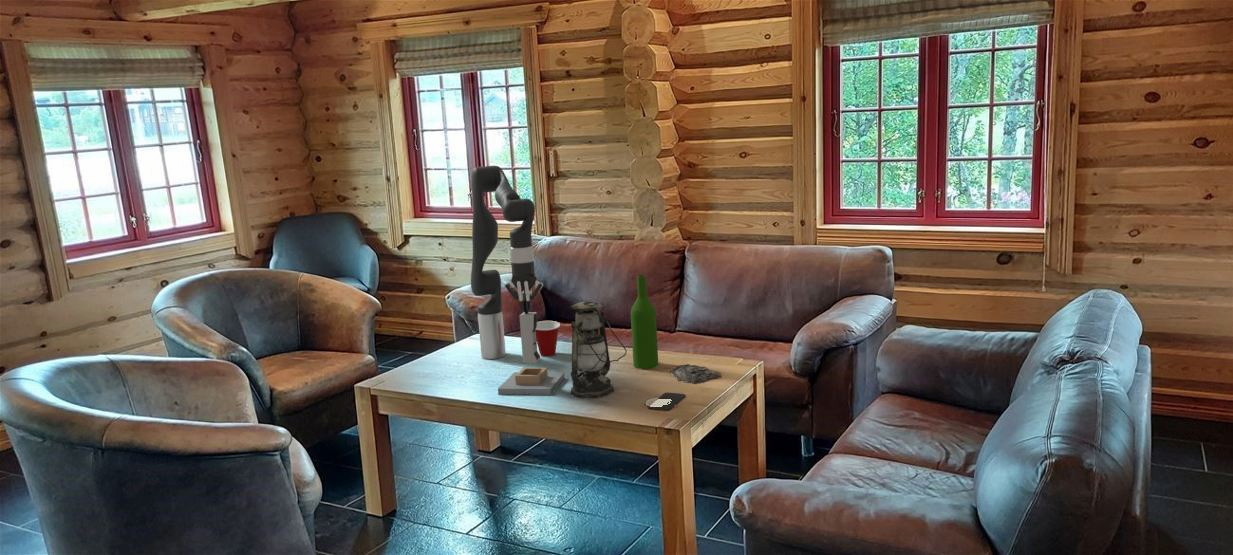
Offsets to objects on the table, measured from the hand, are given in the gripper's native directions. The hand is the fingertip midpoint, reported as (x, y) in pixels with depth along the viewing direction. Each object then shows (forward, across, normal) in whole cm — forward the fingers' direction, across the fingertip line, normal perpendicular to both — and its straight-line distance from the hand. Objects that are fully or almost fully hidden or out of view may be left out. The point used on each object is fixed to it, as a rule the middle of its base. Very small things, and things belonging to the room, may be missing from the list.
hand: (526, 311), depth 295 cm
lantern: (+26, -24, +6) cm, 36 cm away
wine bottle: (+26, -35, -24) cm, 50 cm away
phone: (+26, -48, +15) cm, 57 cm away
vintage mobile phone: (+18, -1, 0) cm, 18 cm away
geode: (+27, -53, -12) cm, 60 cm away
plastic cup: (+26, +5, -38) cm, 46 cm away
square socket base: (+26, 0, 0) cm, 26 cm away
